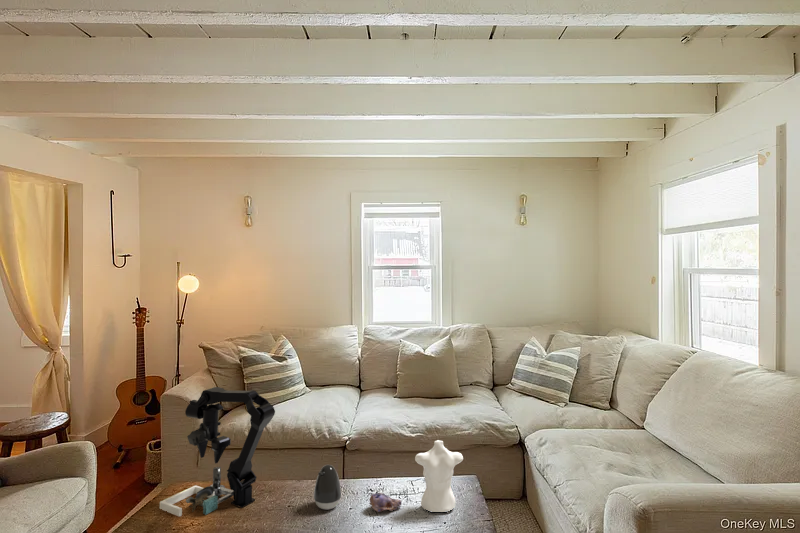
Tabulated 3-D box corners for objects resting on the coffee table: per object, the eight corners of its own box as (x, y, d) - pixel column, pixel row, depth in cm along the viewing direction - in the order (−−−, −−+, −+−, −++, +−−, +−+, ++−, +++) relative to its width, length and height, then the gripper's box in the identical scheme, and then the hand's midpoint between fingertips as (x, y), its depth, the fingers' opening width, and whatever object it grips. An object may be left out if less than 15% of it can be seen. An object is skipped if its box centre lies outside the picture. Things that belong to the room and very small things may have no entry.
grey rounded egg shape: (307, 509, 162) (307, 467, 162) (324, 497, 171) (325, 457, 171) (329, 516, 157) (330, 473, 157) (346, 503, 166) (346, 462, 167)
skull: (400, 504, 166) (400, 487, 166) (402, 514, 158) (403, 497, 159) (369, 505, 165) (369, 489, 165) (369, 516, 157) (369, 499, 157)
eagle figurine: (207, 510, 159) (219, 493, 167) (195, 494, 158) (208, 478, 167) (191, 519, 160) (204, 502, 169) (179, 504, 159) (193, 488, 168)
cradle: (225, 492, 174) (225, 485, 174) (214, 498, 170) (214, 490, 170) (221, 491, 175) (221, 484, 175) (211, 496, 170) (211, 489, 171)
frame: (214, 498, 169) (214, 491, 170) (179, 516, 156) (179, 509, 156) (195, 491, 175) (195, 485, 175) (159, 508, 161) (159, 501, 162)
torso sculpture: (459, 500, 169) (459, 434, 170) (465, 513, 159) (465, 444, 160) (412, 501, 167) (413, 435, 168) (415, 515, 158) (416, 445, 158)
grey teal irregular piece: (236, 497, 169) (237, 472, 170) (206, 514, 157) (206, 487, 157) (214, 490, 175) (214, 465, 176) (182, 505, 163) (183, 479, 163)
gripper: (177, 421, 171) (176, 461, 171) (206, 431, 161) (204, 473, 161) (203, 414, 181) (202, 452, 180) (232, 423, 171) (230, 463, 170)
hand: (209, 460), depth 173 cm, fingers open, 9 cm apart
